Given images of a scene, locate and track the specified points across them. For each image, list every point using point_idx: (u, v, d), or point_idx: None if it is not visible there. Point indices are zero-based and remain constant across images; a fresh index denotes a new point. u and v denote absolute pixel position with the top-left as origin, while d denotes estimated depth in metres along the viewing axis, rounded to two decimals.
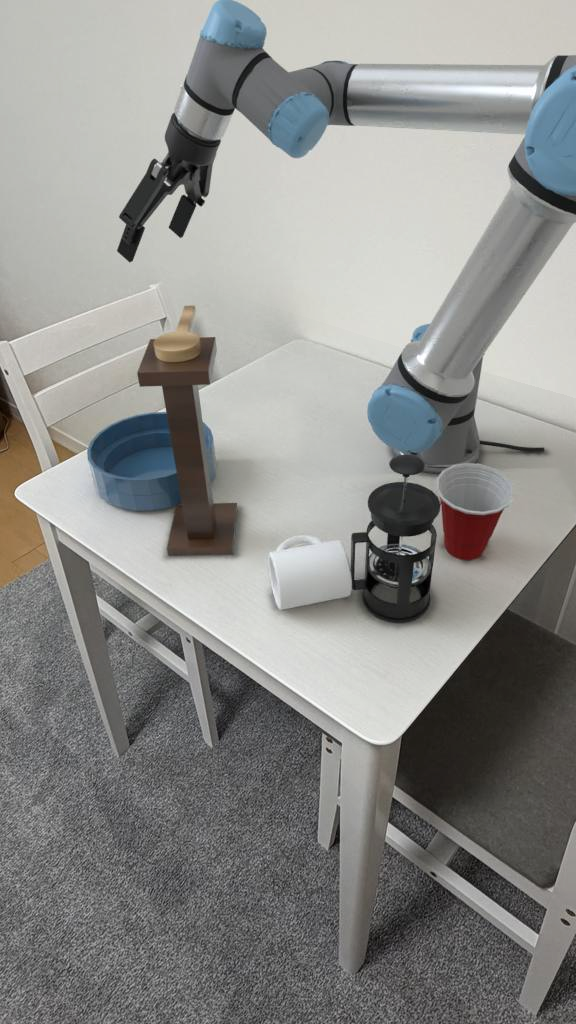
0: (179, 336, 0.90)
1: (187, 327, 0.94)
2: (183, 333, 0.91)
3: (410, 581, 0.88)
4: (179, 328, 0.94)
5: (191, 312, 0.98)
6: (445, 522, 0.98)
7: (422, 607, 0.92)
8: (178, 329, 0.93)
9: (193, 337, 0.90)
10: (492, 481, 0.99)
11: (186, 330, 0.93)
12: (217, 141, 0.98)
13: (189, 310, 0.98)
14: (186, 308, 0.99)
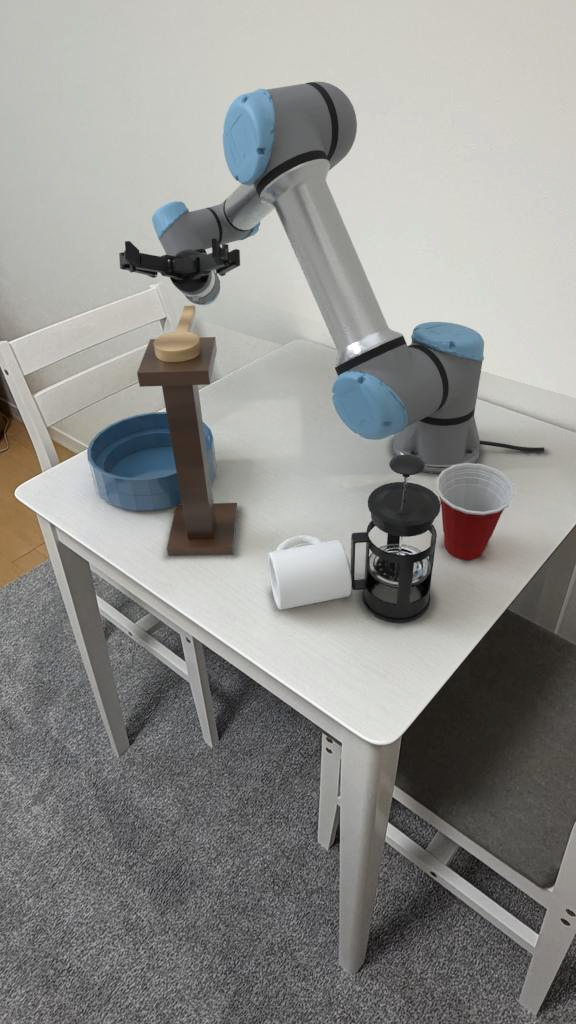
0: (179, 336, 0.90)
1: (187, 327, 0.94)
2: (183, 333, 0.91)
3: (410, 581, 0.88)
4: (179, 328, 0.94)
5: (191, 312, 0.98)
6: (445, 522, 0.98)
7: (422, 607, 0.92)
8: (178, 329, 0.93)
9: (193, 337, 0.90)
10: (492, 481, 0.99)
11: (186, 330, 0.93)
12: None
13: (189, 310, 0.98)
14: (186, 308, 0.99)
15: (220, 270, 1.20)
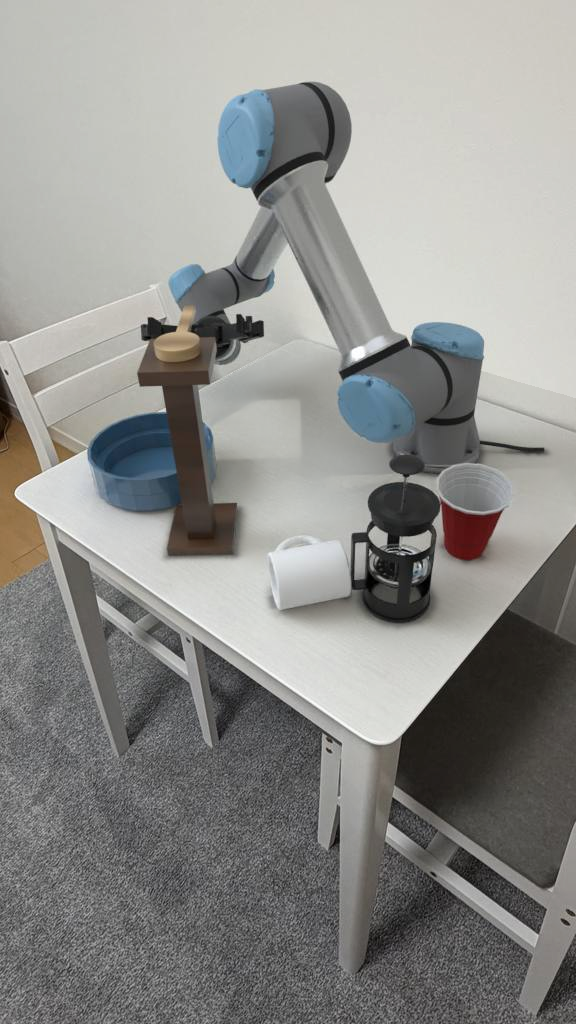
0: (179, 336, 0.90)
1: (187, 327, 0.94)
2: (183, 333, 0.91)
3: (410, 581, 0.88)
4: (179, 328, 0.94)
5: (191, 312, 0.98)
6: (445, 522, 0.98)
7: (422, 607, 0.92)
8: (178, 329, 0.93)
9: (193, 337, 0.90)
10: (492, 481, 0.99)
11: (186, 330, 0.93)
12: None
13: (189, 310, 0.98)
14: (186, 308, 0.99)
15: (243, 338, 1.17)
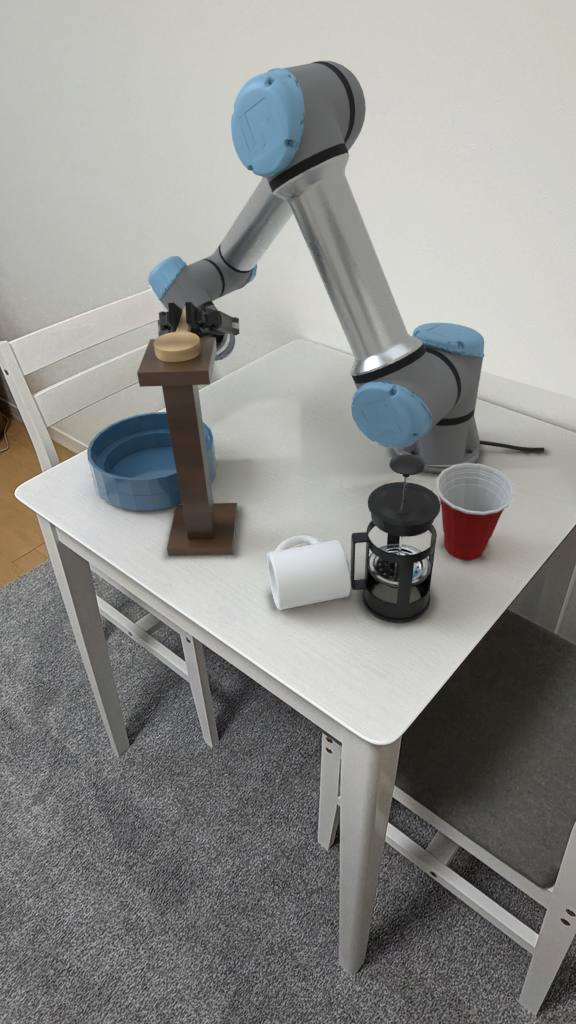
0: (179, 336, 0.90)
1: (187, 327, 0.94)
2: (183, 333, 0.91)
3: (410, 581, 0.88)
4: (179, 328, 0.94)
5: None
6: (445, 522, 0.98)
7: (422, 607, 0.92)
8: (178, 329, 0.93)
9: (193, 337, 0.90)
10: (492, 481, 0.99)
11: (186, 330, 0.93)
12: None
13: None
14: None
15: (224, 331, 1.06)
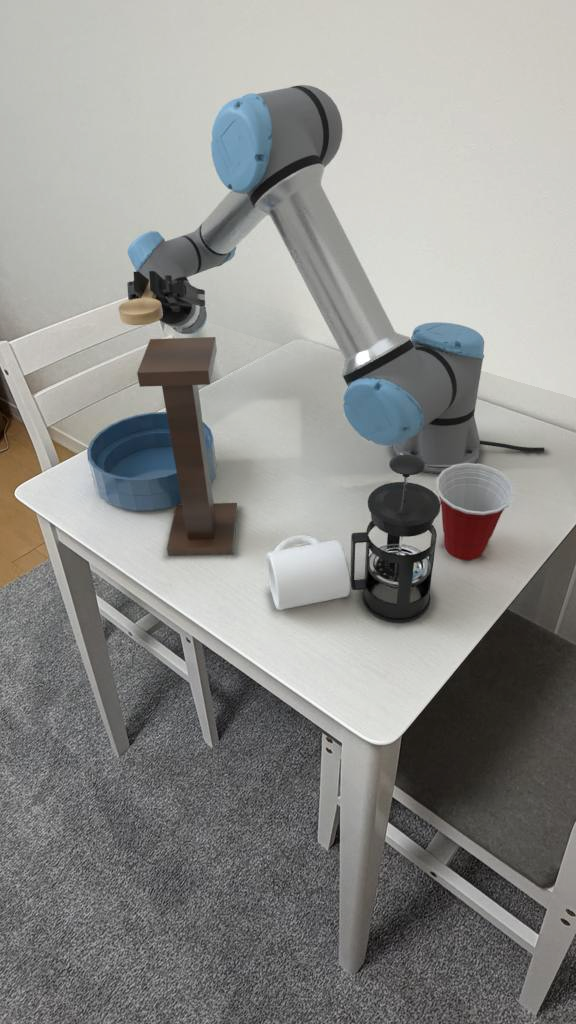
0: (143, 302, 0.97)
1: (151, 295, 1.01)
2: (147, 299, 0.98)
3: (410, 581, 0.88)
4: (144, 295, 1.01)
5: None
6: (445, 522, 0.98)
7: (422, 607, 0.92)
8: (143, 296, 1.01)
9: (155, 303, 0.97)
10: (492, 481, 0.99)
11: (150, 297, 1.00)
12: None
13: None
14: None
15: None
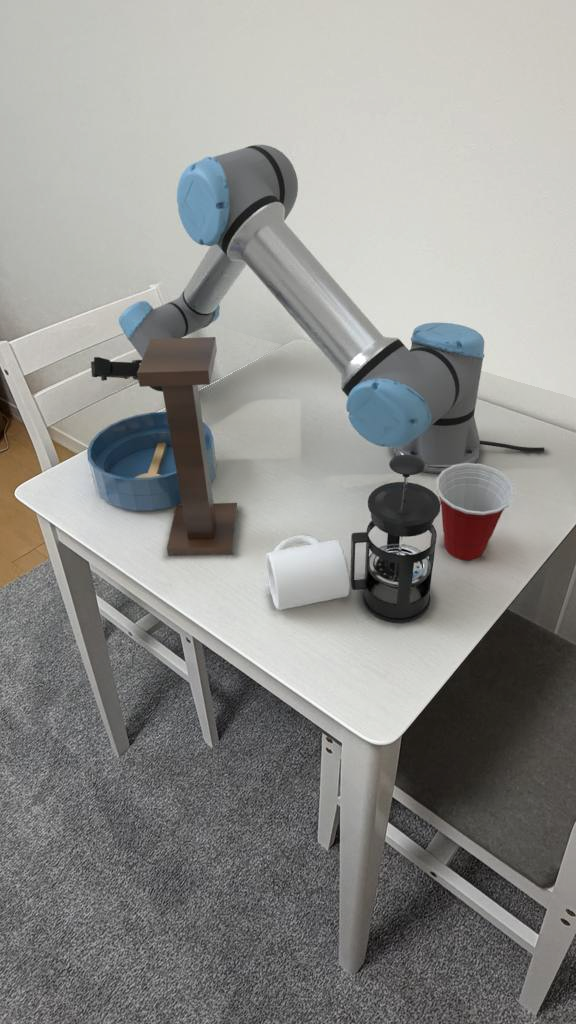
0: None
1: (157, 467, 1.20)
2: (153, 475, 1.17)
3: (410, 581, 0.88)
4: (151, 467, 1.20)
5: (162, 450, 1.24)
6: (445, 522, 0.98)
7: (422, 607, 0.92)
8: (150, 469, 1.20)
9: None
10: (492, 481, 0.99)
11: (156, 470, 1.19)
12: None
13: (161, 448, 1.25)
14: (159, 446, 1.26)
15: None
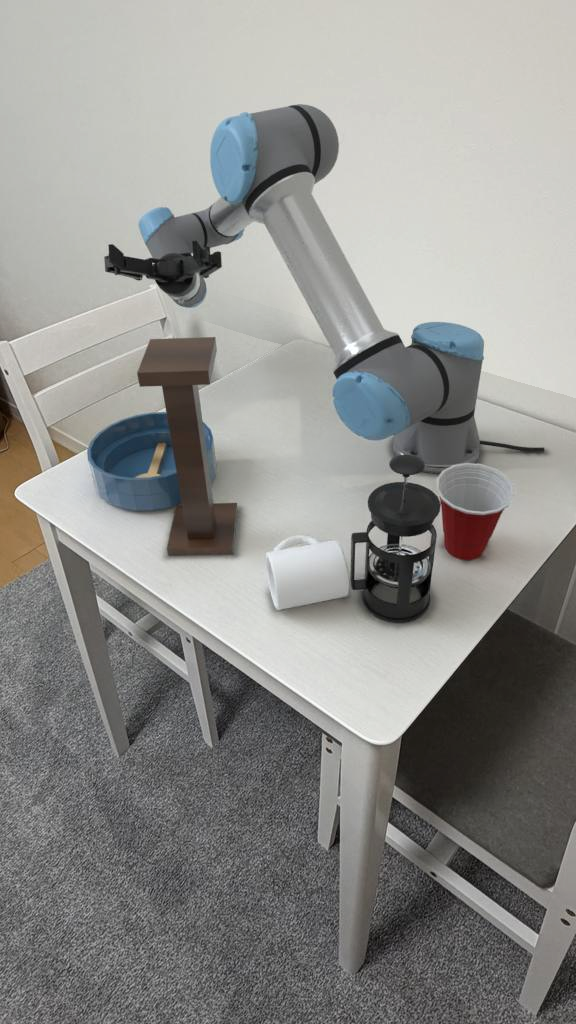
0: None
1: (157, 467, 1.20)
2: (153, 475, 1.17)
3: (410, 581, 0.88)
4: (151, 467, 1.20)
5: (162, 450, 1.24)
6: (445, 522, 0.98)
7: (422, 607, 0.92)
8: (150, 469, 1.20)
9: None
10: (492, 481, 0.99)
11: (156, 470, 1.19)
12: None
13: (161, 448, 1.25)
14: (159, 446, 1.26)
15: (203, 272, 1.23)
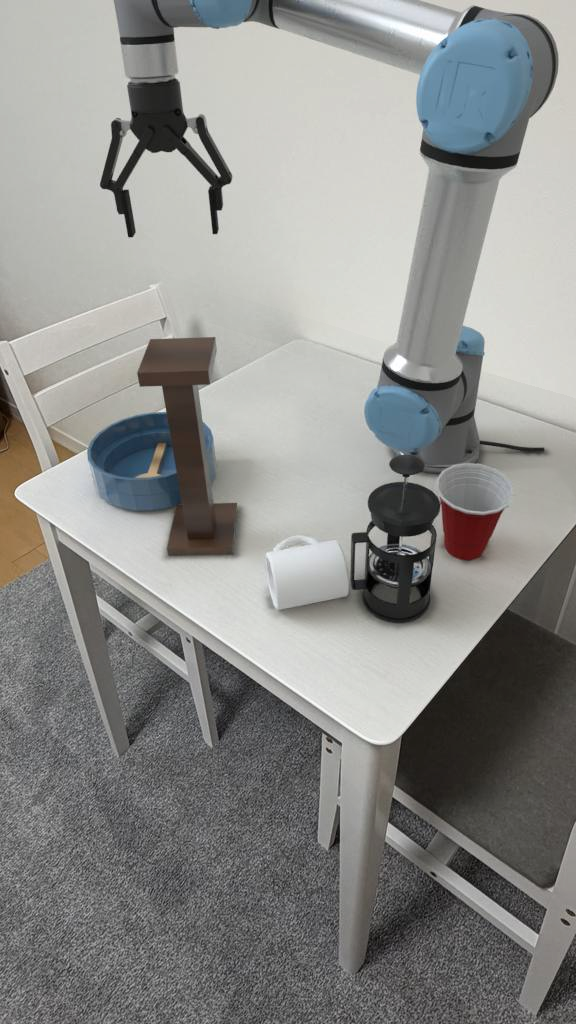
0: None
1: (157, 467, 1.20)
2: (153, 475, 1.17)
3: (410, 581, 0.88)
4: (151, 467, 1.20)
5: (162, 450, 1.24)
6: (445, 522, 0.98)
7: (422, 607, 0.92)
8: (150, 469, 1.20)
9: None
10: (492, 481, 0.99)
11: (156, 470, 1.19)
12: (155, 83, 0.95)
13: (161, 448, 1.25)
14: (159, 446, 1.26)
15: None
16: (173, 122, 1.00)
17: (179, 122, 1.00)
